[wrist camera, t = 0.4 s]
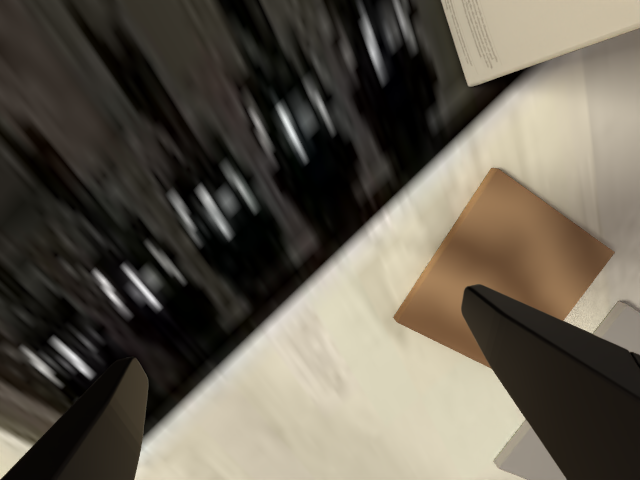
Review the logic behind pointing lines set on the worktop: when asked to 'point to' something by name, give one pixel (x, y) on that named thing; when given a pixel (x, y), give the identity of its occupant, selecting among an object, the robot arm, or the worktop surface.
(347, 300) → the worktop surface
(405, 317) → the walnut board
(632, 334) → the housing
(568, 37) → the skincare box
